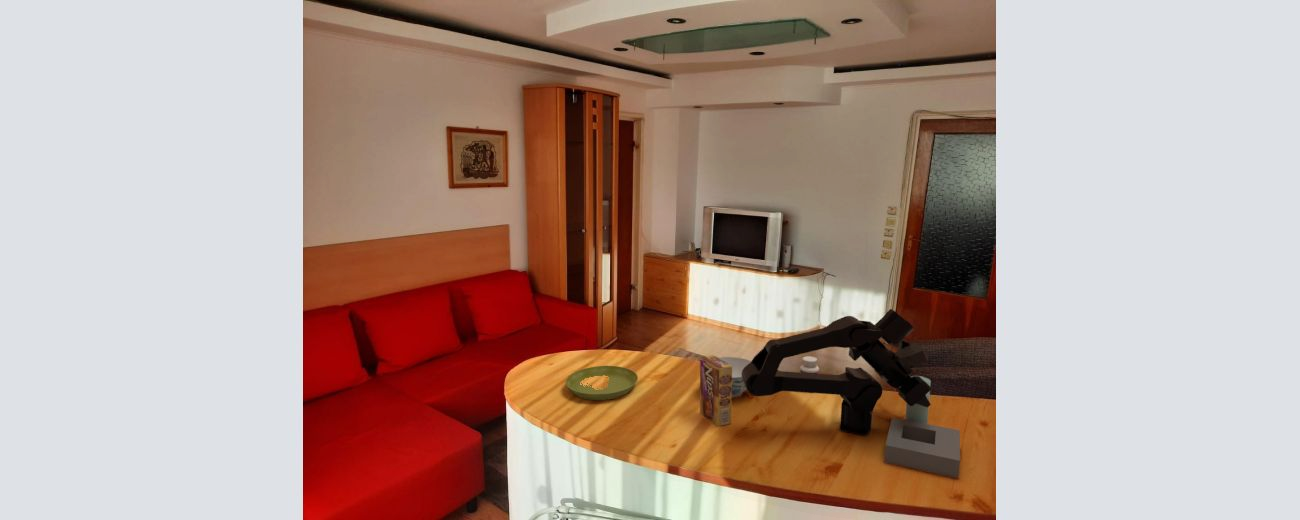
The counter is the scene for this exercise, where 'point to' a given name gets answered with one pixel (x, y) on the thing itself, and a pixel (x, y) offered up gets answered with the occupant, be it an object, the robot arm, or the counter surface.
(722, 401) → the candy box
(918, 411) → the teal peg
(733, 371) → the chinaware
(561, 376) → the counter surface
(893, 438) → the socket block
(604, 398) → the saucer
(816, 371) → the pill bottle
